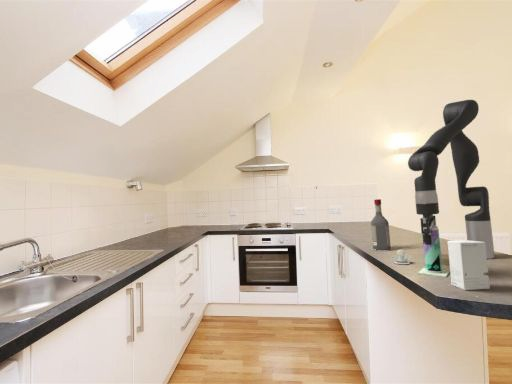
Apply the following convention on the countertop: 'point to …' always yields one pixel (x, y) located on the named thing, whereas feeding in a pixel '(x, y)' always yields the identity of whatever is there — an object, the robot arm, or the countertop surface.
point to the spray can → (433, 253)
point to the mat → (443, 274)
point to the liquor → (380, 229)
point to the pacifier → (401, 258)
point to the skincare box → (468, 264)
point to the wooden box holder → (445, 261)
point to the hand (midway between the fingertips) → (430, 242)
